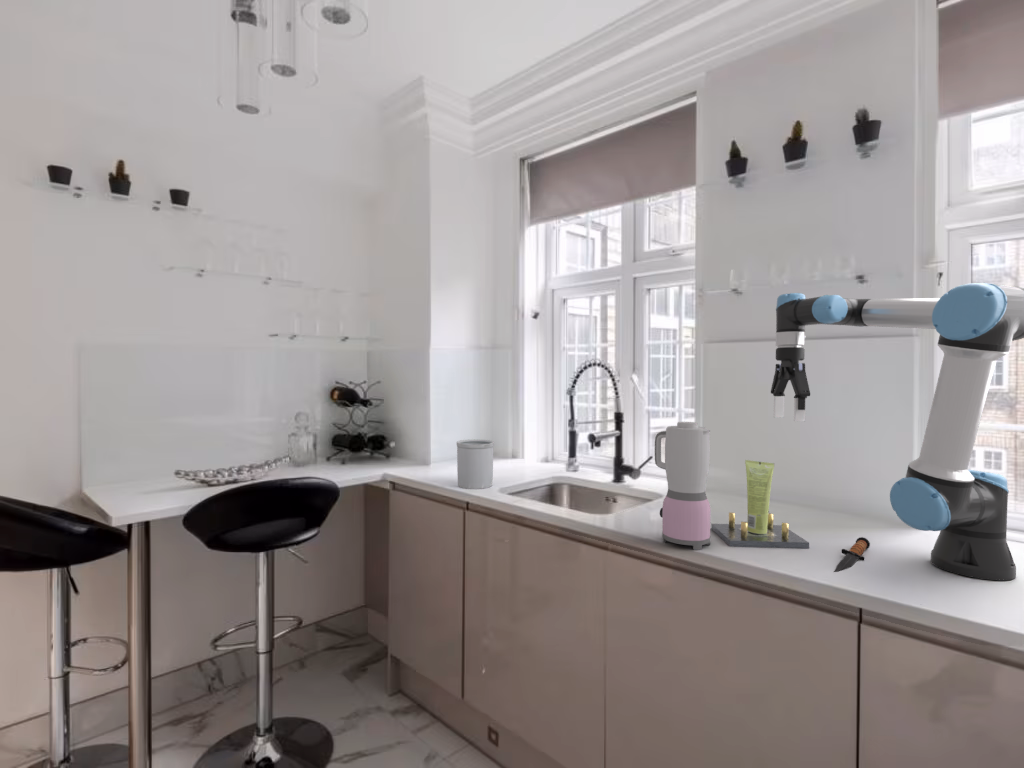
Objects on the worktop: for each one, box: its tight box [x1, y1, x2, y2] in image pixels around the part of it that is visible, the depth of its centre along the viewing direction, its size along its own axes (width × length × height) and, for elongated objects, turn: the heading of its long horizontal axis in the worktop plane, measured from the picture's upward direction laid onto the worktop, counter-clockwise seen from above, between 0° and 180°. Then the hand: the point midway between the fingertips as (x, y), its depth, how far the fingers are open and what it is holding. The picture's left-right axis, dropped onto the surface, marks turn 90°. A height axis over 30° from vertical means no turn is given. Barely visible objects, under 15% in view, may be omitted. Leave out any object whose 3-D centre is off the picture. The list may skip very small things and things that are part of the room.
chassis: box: [710, 511, 810, 549], centre depth 148 cm, size 16×20×6 cm
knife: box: [833, 536, 871, 573], centre depth 132 cm, size 25×3×5 cm
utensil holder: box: [456, 438, 495, 490], centre depth 215 cm, size 15×15×18 cm
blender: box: [654, 421, 712, 551], centre depth 145 cm, size 16×12×32 cm
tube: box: [744, 459, 775, 534], centre depth 148 cm, size 6×5×20 cm
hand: (788, 419), depth 159 cm, fingers open, 13 cm apart
